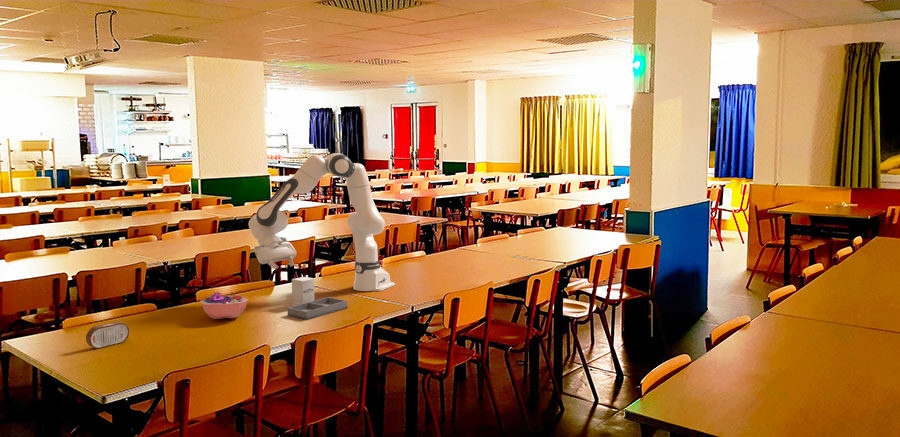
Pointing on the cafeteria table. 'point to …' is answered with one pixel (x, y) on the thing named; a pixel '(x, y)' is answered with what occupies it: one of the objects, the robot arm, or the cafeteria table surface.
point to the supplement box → (302, 290)
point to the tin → (107, 334)
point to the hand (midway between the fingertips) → (284, 266)
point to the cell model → (224, 305)
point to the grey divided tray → (317, 308)
